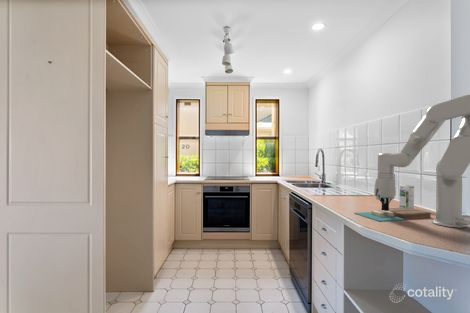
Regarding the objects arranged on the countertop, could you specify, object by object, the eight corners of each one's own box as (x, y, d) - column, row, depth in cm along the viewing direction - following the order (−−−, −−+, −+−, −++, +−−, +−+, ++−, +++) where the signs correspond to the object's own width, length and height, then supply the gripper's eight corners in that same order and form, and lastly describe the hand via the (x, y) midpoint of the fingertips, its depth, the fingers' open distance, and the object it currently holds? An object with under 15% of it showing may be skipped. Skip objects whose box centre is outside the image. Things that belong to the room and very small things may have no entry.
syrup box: (398, 207, 163) (398, 184, 163) (405, 207, 165) (406, 184, 165) (407, 209, 157) (407, 185, 157) (414, 209, 159) (414, 185, 159)
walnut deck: (430, 217, 137) (430, 212, 137) (402, 219, 132) (402, 214, 132) (407, 211, 150) (407, 207, 150) (381, 213, 146) (381, 208, 146)
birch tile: (385, 213, 143) (385, 210, 143) (394, 216, 137) (394, 212, 137) (371, 214, 141) (371, 210, 141) (379, 217, 135) (379, 213, 135)
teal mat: (405, 220, 130) (405, 219, 130) (379, 221, 127) (379, 220, 127) (377, 212, 148) (377, 211, 148) (354, 213, 144) (354, 212, 144)
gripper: (391, 175, 144) (391, 208, 144) (368, 175, 140) (368, 209, 140) (403, 176, 136) (402, 211, 136) (379, 176, 133) (378, 212, 133)
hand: (385, 210), depth 138 cm, fingers closed
